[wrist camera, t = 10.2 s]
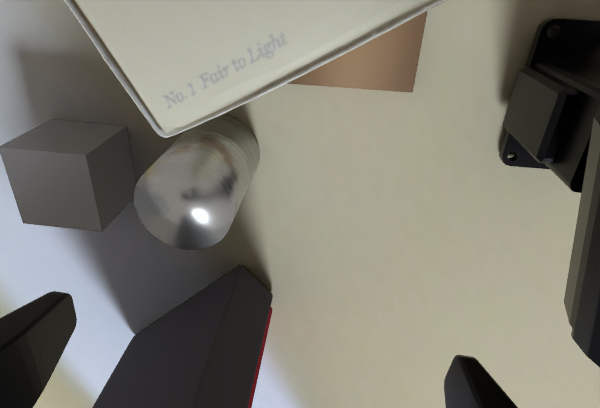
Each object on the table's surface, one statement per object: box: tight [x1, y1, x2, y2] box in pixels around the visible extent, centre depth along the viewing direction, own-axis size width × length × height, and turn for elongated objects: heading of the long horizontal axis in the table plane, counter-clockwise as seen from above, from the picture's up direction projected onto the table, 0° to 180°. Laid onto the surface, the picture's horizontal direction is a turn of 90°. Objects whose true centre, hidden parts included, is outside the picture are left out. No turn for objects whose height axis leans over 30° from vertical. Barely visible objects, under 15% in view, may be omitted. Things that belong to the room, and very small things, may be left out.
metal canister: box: [134, 114, 260, 250], centre depth 19 cm, size 4×4×6 cm
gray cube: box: [0, 119, 136, 231], centre depth 21 cm, size 4×4×4 cm
